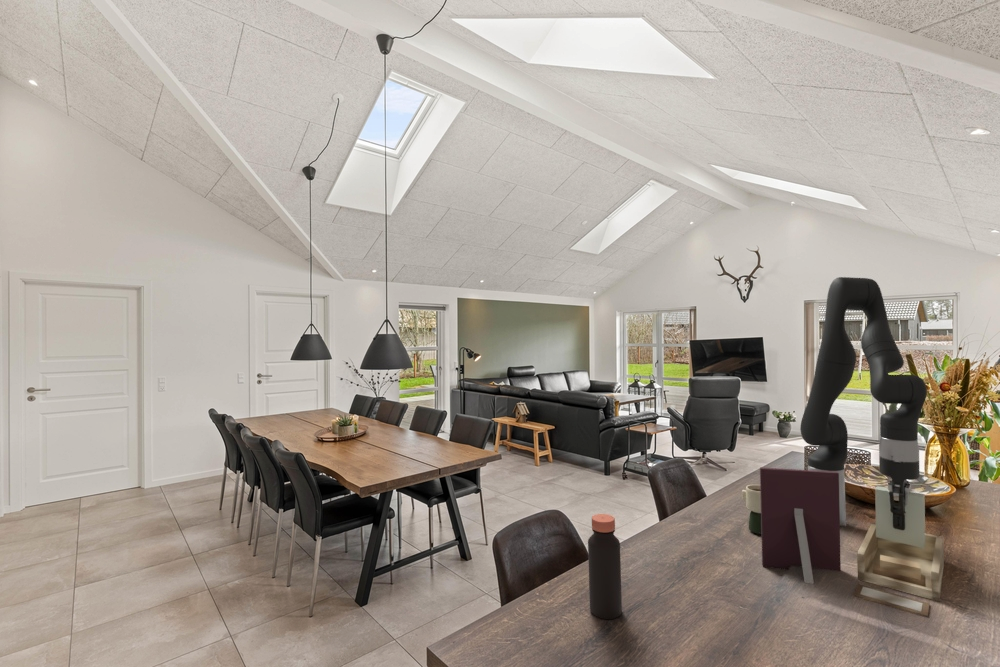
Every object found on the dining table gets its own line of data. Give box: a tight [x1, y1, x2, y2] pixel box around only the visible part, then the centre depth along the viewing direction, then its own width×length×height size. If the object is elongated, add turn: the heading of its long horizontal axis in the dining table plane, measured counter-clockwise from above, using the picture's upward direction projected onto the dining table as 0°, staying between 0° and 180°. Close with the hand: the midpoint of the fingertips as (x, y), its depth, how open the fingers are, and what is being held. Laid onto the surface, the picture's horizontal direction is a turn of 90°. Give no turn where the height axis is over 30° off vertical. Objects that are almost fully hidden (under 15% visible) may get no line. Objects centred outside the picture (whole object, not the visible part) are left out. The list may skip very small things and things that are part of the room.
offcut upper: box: [880, 555, 921, 580], centre depth 109 cm, size 7×3×2 cm, turn 51°
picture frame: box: [759, 467, 842, 585], centre depth 114 cm, size 17×10×25 cm, turn 71°
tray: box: [856, 522, 945, 602], centre depth 115 cm, size 14×24×7 cm, turn 135°
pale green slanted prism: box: [874, 485, 926, 548], centre depth 117 cm, size 9×3×12 cm, turn 45°
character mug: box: [741, 484, 761, 535], centre depth 141 cm, size 11×7×13 cm, turn 30°
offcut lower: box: [872, 563, 926, 587], centre depth 109 cm, size 9×4×2 cm, turn 45°
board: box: [853, 583, 930, 618], centre depth 102 cm, size 12×6×2 cm, turn 45°
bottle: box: [587, 513, 623, 620], centre depth 103 cm, size 7×7×20 cm
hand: (899, 526), depth 117 cm, fingers closed on pale green slanted prism, 3 cm apart
